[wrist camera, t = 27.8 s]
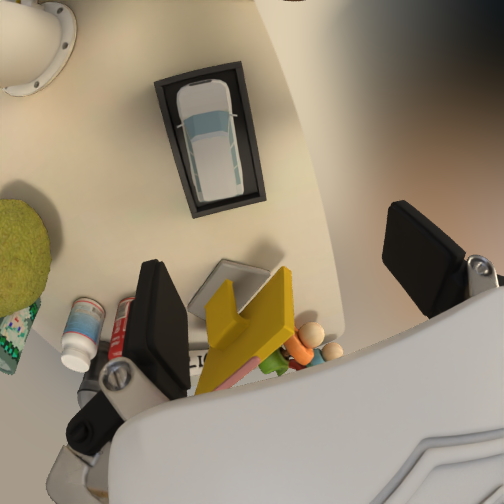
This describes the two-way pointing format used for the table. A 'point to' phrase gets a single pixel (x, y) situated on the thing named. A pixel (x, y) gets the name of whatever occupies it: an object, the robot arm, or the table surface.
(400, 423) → the robot arm
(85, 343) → the pill bottle
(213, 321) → the toy computer monitor
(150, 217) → the table surface
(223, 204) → the dock pad
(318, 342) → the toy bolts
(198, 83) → the toy car
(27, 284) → the fruit
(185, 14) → the table surface
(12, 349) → the can
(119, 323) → the beverage can
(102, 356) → the beverage cup
